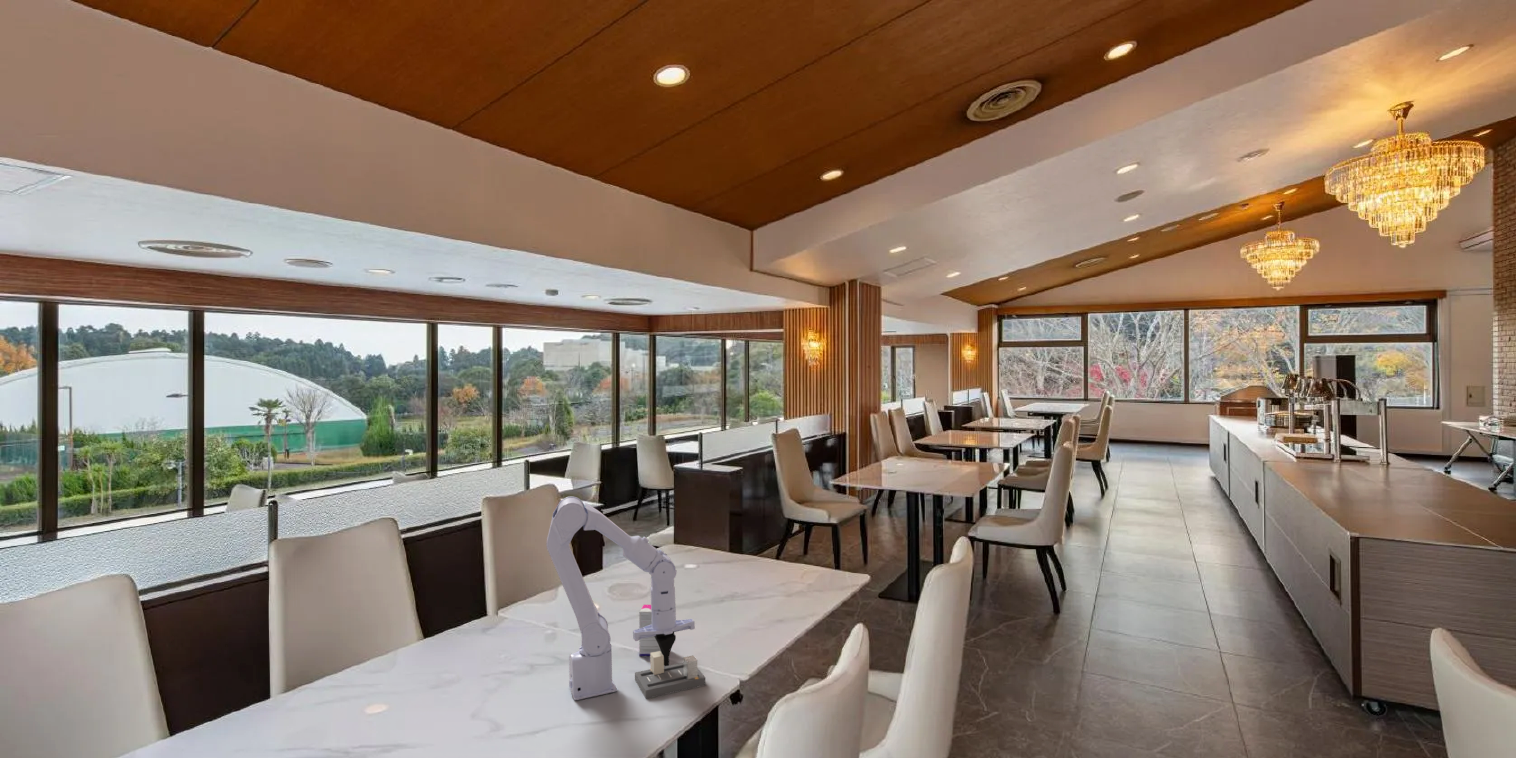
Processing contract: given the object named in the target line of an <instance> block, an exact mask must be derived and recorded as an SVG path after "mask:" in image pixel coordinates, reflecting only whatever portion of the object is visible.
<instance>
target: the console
mask: <svg viewBox="0 0 1516 758" xmlns="http://www.w3.org/2000/svg"><path fill="white" fill-rule="evenodd" d="M634 681H635V683H636V684H637V686H638V688H639V689H640V691H641V693H642V694H643V696H644V698H645V700H646V699H647V700H648V699H650V698H651V699H652V698H656V697H659V696H664V695H668V694H672V693H677V692H682V691H686V690H691V689H696V688H699V687H703V686H704V687H705V686H706V685H707V684H706V676H705V675H704V673H702V672H701V670H700V669H699V668H698V678H694V679H689V680H688V679H687V678H686V677H685V676H684V666H683V662H679V663H675V664H674V663H673V664H669V666H664V673H661V674H656V675H654V674H653V673H652V671H651V668H650V669H646V670H642V671H641V670H640V671H636V672H635V671H634Z"/></svg>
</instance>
